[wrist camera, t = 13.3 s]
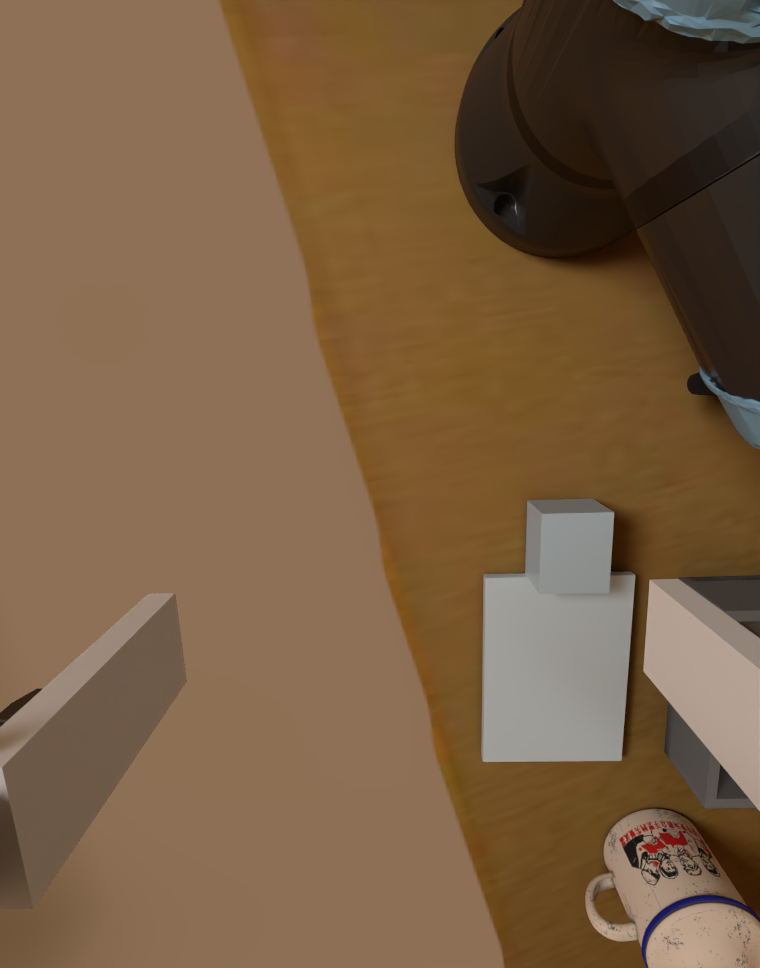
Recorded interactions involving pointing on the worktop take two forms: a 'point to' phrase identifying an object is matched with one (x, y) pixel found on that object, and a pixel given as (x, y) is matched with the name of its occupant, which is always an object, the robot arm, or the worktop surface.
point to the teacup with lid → (674, 896)
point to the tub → (713, 786)
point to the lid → (558, 642)
